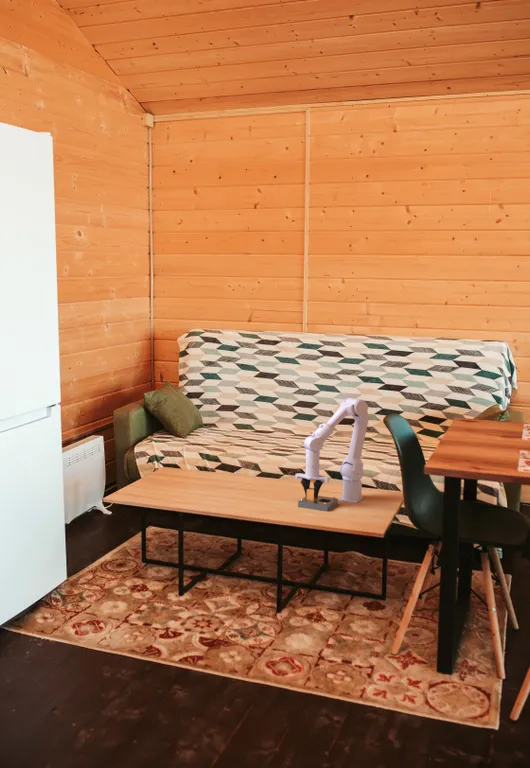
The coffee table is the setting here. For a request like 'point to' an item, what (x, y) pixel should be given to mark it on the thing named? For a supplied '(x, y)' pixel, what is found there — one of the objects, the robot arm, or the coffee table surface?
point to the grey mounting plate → (319, 503)
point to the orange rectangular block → (310, 494)
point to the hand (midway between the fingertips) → (311, 497)
